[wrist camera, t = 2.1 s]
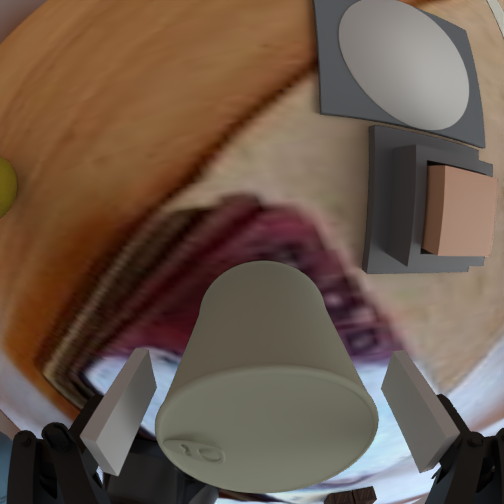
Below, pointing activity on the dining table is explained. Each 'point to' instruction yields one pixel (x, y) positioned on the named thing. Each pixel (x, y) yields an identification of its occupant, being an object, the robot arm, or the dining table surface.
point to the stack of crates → (352, 497)
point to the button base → (408, 200)
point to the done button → (459, 212)
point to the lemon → (7, 186)
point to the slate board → (397, 68)
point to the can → (265, 388)
